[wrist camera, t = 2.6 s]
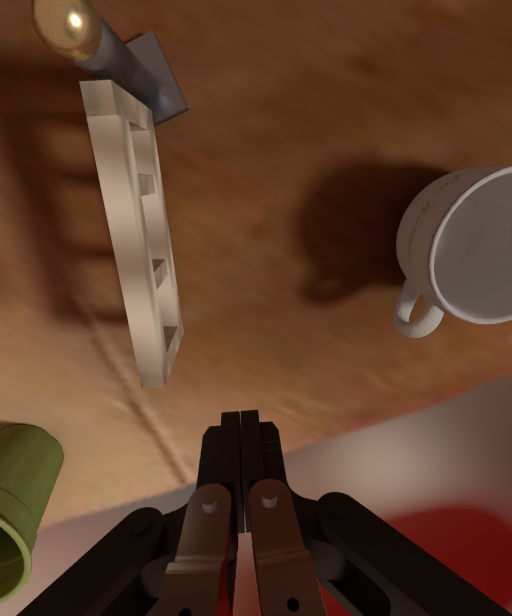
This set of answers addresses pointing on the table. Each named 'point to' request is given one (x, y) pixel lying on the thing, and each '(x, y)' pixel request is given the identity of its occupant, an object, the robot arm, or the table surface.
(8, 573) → the plant pot
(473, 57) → the table surface
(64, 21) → the hinge post
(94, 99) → the gate
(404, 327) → the teacup
